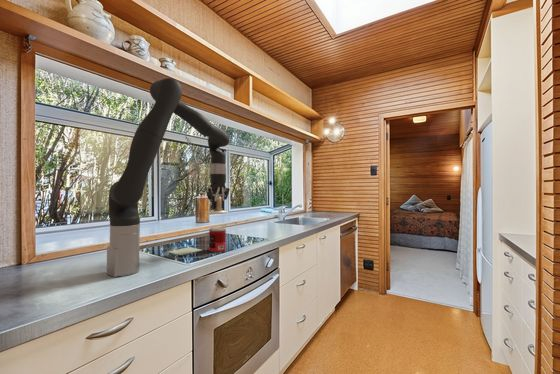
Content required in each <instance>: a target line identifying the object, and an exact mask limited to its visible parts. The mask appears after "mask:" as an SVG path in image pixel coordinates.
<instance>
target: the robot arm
mask: <svg viewBox="0 0 560 374" xmlns="http://www.w3.org/2000/svg"><path fill="white" fill-rule="evenodd" d="M149 93H150V96H151V98H152V99H153V100H154V101H155V103H154V104H153V106H152V108H151V109H150V111H149V112H148V113H147V114H146V115H145V117H144V118H143V119H142V121H141V122H140V124H139V125H138V126H137V128H136V130H135V133H134V135H133V138H132V140H131V142H130V148H129V154H128V160H127V164H126V167H125V169H124V170H123V173H122V174H121V176H120V178H119V180H118V181H116V182H114V183H113V184H111V186H110V188H109V192H108V216H109V246H107V247H106V275H108V276H111V277H113V278H116V277H123V276H125V277H126V276H131V275H134V274H136V273H138V272H139V271H140V233H141V232H140V229H141V216H140V213H139V207H138V204H139V202H140V200H141V199H142V197H143V194H144V190H145V185H146V183H147V182H146V181H147V178H148V175H149V172H150V170H151V167H152V166H153V164H154V162H155V158H156V156H157V154H158V153H159V150H160V148H161V146H162V142H163V139H164V136H165V134H166V132H167V129H168V126H169V123H170V121H171V119H172V116H173V114H174V115H176V116H178V117H179V118H181V119H182V120H183V121H185V122H186V123H187V124H189V126H191V127H192V128H194V130H196V132H198V133H199V134H200V135H202V136H203V137H207V146H208V149H209V153H210V169H209V170H210V171H209V172H210V174H209V178H210V179H209V183H210V185H209V187H205V193H206V196H207V200H208V201H211V209H212V210H214V209H216V208H217V201H216V200H217V197H222V209H221V210H223V209H224V201H225V200H227V199H228V196H229V193H230V188H229V187H226V184H227V166H226V160H227V158H226V152H224V151H221V149H220V148H223V147H226V146H228V145H229V144H230V137H229V135H228V134H227V132H226V131H224V130H223V129H221V128H220V127H218V126H217V125H215V124H213V123H212V122H211V121H210V120H209V119H208V118H206V116H204V115H203V114H202V113H200V112H198V111H197V110H195V109H194V108H191V107H190V106H188V105H186V104H185V103H183V102H182V101H181V98H182V97H183V96H182V94H183V89H182V86H181V84H180V82H179V81H178V80H177V79H174V78H170V77H165V78H163V79H160V80H156V81H154V82H153V83H151V85H150V86H149Z"/></svg>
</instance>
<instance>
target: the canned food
mask: <svg viewBox="0 0 560 374" xmlns="http://www.w3.org/2000/svg"><path fill="white" fill-rule="evenodd" d="M226 233H227V232H226V228H225V227H211V228H209V231H208V237H209V238H208V243H209V244H208V252H210V253H221V252H225V251H226V245H227V244H226V237H227V236H226Z"/></svg>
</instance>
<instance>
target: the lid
mask: <svg viewBox="0 0 560 374" xmlns="http://www.w3.org/2000/svg"><path fill="white" fill-rule="evenodd" d="M216 201H217V208H216V209H212V210H207V211H206V214H208V215H209V214H210V215H224V214H225V215H226V214H229V210H223V209H222V197H219V196H218V197H217V200H216Z"/></svg>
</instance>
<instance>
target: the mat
mask: <svg viewBox="0 0 560 374" xmlns="http://www.w3.org/2000/svg"><path fill="white" fill-rule="evenodd" d="M200 251H202V249H201V248H200V249H199V248H196V247H191V246H189V247H184V248H178V249H174V250H170V251H168V253H171V254H175V255H178V256H182V255H187V254H192V253H195V252H200Z"/></svg>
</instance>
